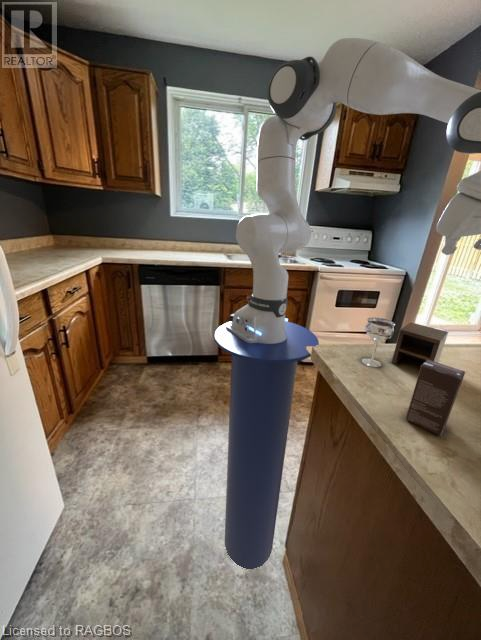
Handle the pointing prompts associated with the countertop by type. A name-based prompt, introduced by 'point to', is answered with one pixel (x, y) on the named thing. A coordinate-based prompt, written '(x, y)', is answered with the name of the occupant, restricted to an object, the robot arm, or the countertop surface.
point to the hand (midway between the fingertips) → (462, 250)
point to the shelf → (419, 343)
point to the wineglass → (378, 335)
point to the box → (434, 396)
